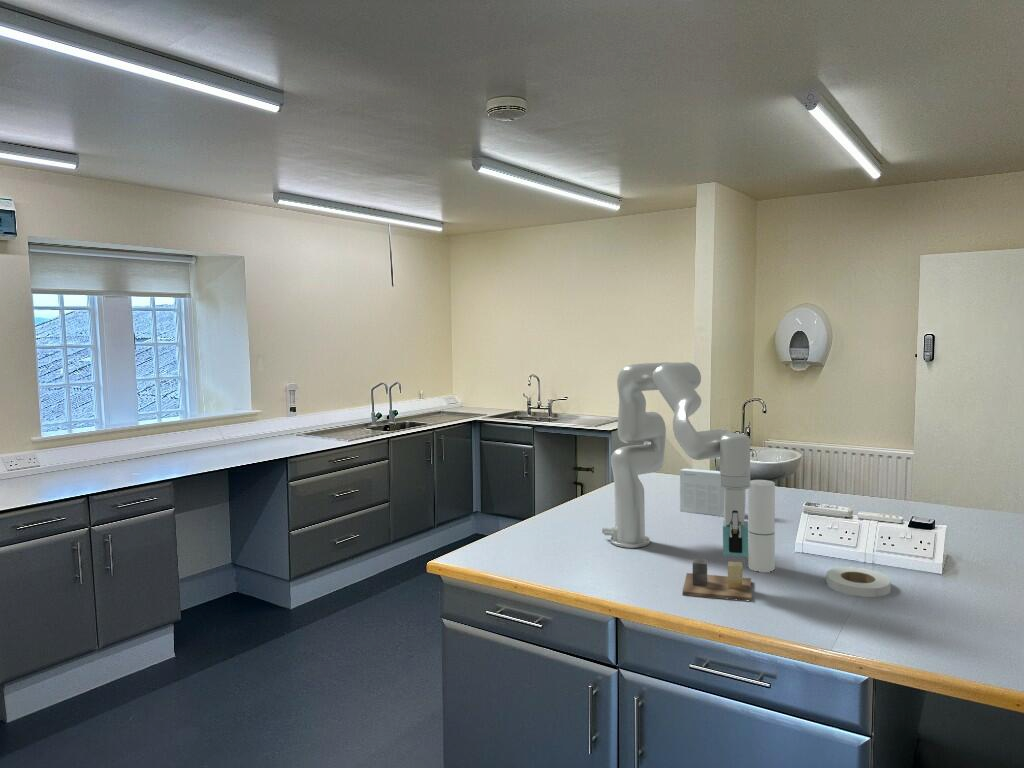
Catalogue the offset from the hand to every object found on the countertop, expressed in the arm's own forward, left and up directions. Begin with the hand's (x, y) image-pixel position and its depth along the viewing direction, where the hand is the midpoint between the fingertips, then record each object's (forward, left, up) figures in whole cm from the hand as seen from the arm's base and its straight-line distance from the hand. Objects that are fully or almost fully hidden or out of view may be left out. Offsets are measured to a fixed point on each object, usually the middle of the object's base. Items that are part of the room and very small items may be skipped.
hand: (735, 547), depth 183 cm
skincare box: (-10, +76, -12) cm, 78 cm away
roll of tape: (+31, +11, -12) cm, 35 cm away
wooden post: (0, 0, -11) cm, 11 cm away
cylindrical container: (+7, +19, -12) cm, 24 cm away
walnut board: (-5, 0, -11) cm, 12 cm away
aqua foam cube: (0, 0, -1) cm, 1 cm away
